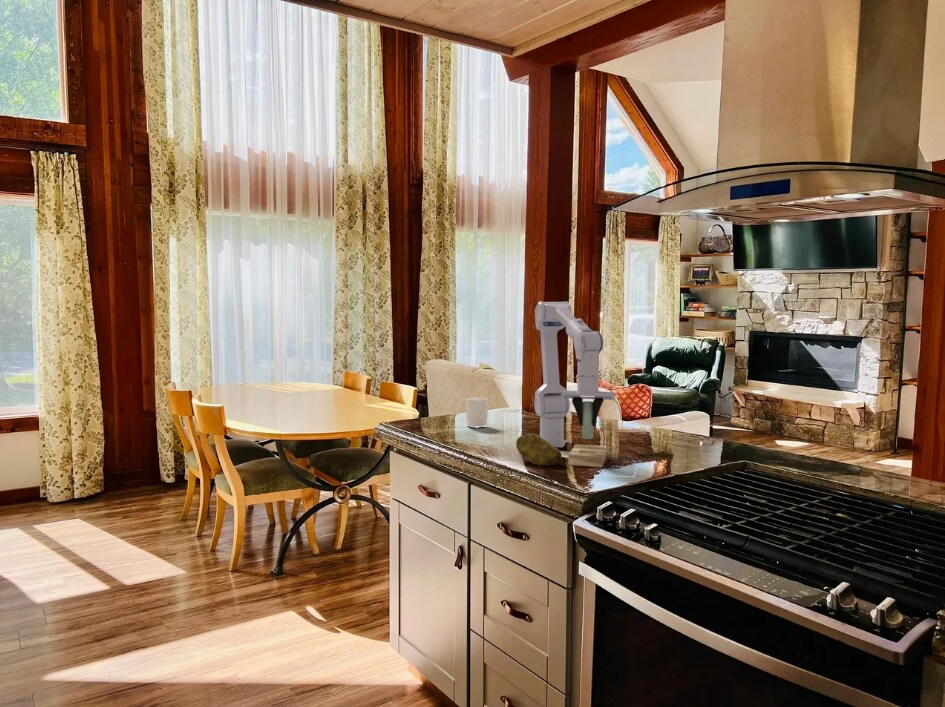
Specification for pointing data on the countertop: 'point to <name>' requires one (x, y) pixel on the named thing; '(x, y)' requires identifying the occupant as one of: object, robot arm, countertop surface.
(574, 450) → the socket block
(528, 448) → the potato
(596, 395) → the robot arm
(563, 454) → the mat
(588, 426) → the peg
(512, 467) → the countertop surface
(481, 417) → the white cup
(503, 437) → the countertop surface
